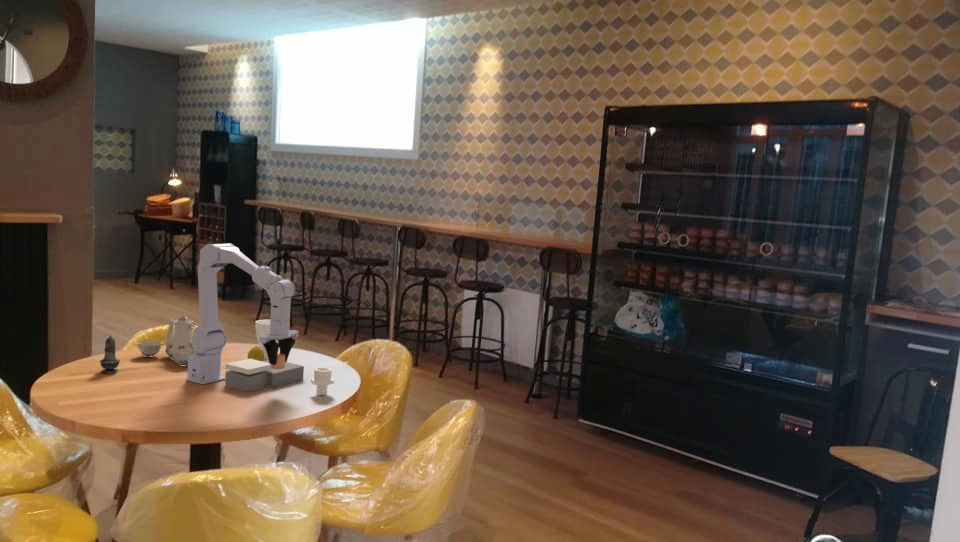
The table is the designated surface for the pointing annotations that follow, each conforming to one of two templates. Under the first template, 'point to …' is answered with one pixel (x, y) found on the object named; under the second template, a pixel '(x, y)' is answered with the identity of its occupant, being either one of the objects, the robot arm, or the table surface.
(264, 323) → the cup
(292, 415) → the table surface
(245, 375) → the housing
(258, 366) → the cream square tile
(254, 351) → the lemon
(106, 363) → the salt shaker
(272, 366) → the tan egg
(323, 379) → the pipe fitting
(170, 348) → the chinaware
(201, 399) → the table surface
